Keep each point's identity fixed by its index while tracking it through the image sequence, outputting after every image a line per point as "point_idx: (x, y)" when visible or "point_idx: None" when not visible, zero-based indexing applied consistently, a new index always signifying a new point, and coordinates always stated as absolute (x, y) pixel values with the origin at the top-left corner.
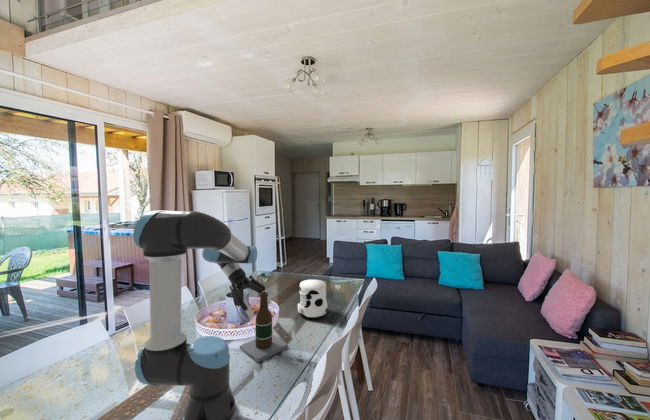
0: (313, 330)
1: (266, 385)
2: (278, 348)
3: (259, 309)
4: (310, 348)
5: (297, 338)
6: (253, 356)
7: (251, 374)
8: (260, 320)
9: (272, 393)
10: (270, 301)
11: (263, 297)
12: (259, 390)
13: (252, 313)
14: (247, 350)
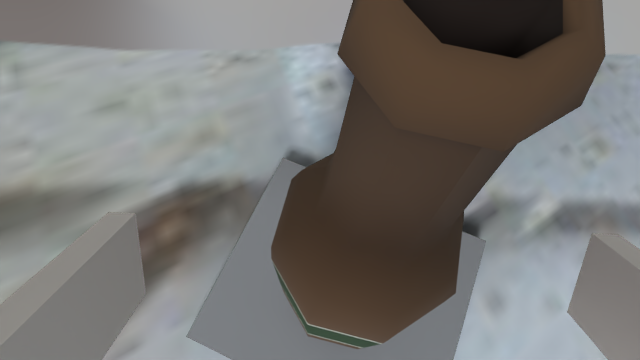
0: (65, 110)
1: (574, 126)
2: None
3: (415, 258)
4: (253, 67)
5: (176, 156)
6: (474, 278)
7: (562, 222)
8: (463, 217)
9: (592, 87)
10: (122, 219)
11: (523, 33)
12: (612, 136)
13: (628, 245)
14: (446, 356)
